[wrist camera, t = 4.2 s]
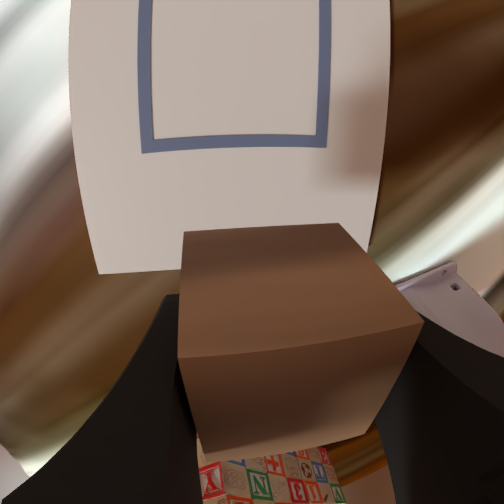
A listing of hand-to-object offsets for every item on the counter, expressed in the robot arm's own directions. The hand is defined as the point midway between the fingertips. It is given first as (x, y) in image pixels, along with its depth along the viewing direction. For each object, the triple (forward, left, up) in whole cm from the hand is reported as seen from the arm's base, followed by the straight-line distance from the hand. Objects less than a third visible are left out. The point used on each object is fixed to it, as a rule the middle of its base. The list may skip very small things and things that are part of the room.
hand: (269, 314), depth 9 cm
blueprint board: (-2, -8, -9) cm, 12 cm away
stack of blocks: (+5, +27, -9) cm, 29 cm away
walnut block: (0, 0, -1) cm, 1 cm away
